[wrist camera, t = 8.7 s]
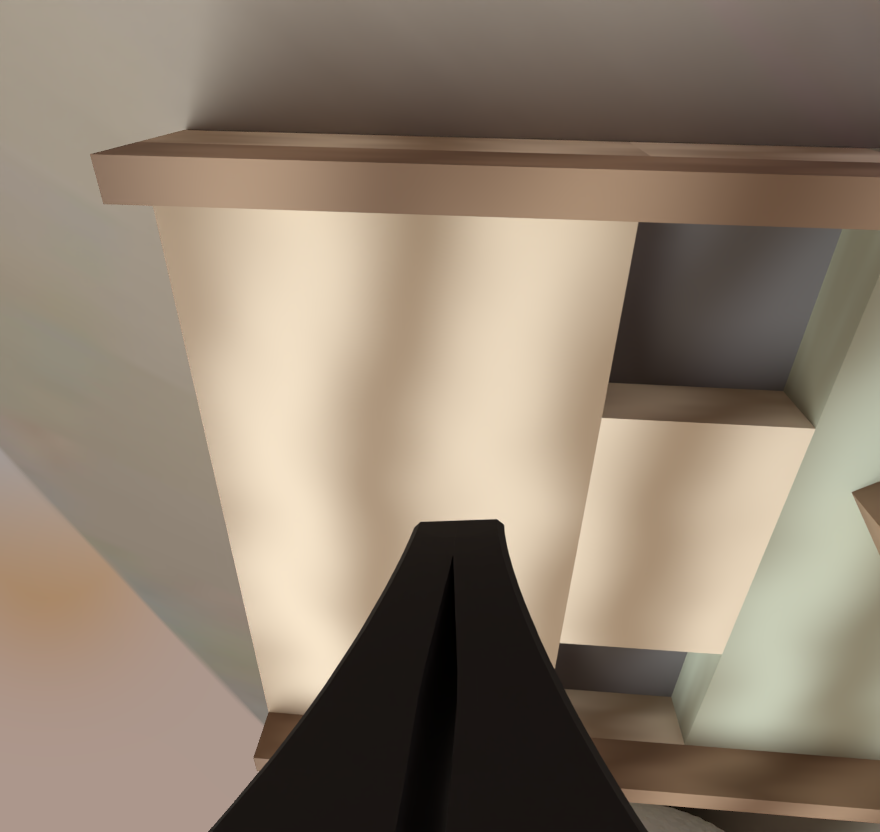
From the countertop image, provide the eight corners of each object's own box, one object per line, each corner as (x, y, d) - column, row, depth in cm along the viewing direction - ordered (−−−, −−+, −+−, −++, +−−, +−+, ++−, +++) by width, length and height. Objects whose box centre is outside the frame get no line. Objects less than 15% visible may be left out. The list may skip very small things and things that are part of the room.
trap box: (1323, 160, 15) (1662, 205, 10) (907, 722, 27) (985, 845, 23) (184, 129, 16) (75, 157, 12) (287, 675, 29) (253, 783, 25)
